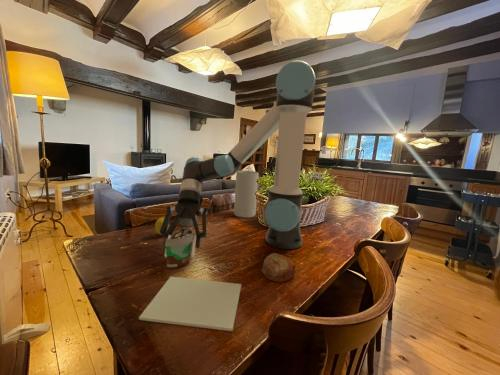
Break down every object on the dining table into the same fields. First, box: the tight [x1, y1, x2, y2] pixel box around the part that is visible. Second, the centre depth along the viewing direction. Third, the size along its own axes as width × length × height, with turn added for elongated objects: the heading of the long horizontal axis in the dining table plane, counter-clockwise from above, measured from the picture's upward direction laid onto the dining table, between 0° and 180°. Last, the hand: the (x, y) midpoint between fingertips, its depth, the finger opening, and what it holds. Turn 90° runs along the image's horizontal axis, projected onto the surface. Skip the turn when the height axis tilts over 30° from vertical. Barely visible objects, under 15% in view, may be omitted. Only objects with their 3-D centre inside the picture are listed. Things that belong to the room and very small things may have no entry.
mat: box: [138, 276, 242, 332], centre depth 56 cm, size 20×16×1 cm
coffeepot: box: [177, 191, 204, 227], centre depth 109 cm, size 15×9×18 cm, turn 59°
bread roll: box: [260, 252, 296, 283], centre depth 71 cm, size 10×10×8 cm
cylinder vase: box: [233, 170, 260, 219], centre depth 130 cm, size 12×12×25 cm
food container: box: [165, 226, 195, 270], centre depth 72 cm, size 12×6×10 cm, turn 173°
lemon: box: [154, 216, 171, 237], centre depth 93 cm, size 6×6×8 cm
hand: (179, 257), depth 69 cm, fingers closed on food container, 7 cm apart
